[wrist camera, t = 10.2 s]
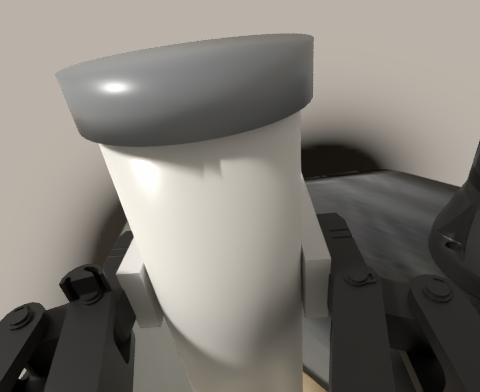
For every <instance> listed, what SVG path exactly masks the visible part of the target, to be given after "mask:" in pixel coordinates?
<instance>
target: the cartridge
mask: <svg viewBox="0 0 480 392" xmlns="http://www.w3.org/2000/svg"><path fill="white" fill-rule="evenodd" d="M313 41H314V38H313V36H310V35H306V34H265V35H250V36H239V37H230V38H220V39H211V40H203V41H196V42H188V43H182V44H175V45H168V46H162V47H155V48H149V49H144V50H138V51H133V52H127V53H122V54H118V55H112V56H108V57H103V58H99V59H95V60H91V61H87V62H83V63H79V64H76V65H73V66H70V67H67V68H64V69H62V70H60V71H58V72H57V73H56V74H55V75H56V77H57V80H58V82H59V85H60V87H61V90H62V92H63V95H64V97H65V99H66V102H67V104H68V107H69V109H70V112H71V114H72V116H73V119H74V121H75V124H76V126H77V129H78V131H79V133H80V134H81V136H83V137H84V138H85V139H87V140H90V141H93V142H96V143H98V144H99V146H100V149H101V151H102V154H103V156H104V159H105V162H106V165H107V167H108V170H109V172H110V175H111V178H112V180H113V183H114V186H115V188H116V191H117V193H118V196H119V199H120V201H121V204H122V207H123V209H124V212H125V214H126V217H127V220H128V222H129V225H130V228H131V230H132V233H133V235H134V238H135V241H136V243H137V246H138V249H139V251H140V254H141V256H142V259H143V262H144V264H145V267H146V270H147V272H148V275H149V277H150V280H151V283H152V285H153V288H154V291H155V293H156V296H157V298H158V301H159V304H160V306H161V309H162V312H163V314H164V317H165V319H166V322H167V325H168V327H169V330H170V333H171V335H172V338H173V340H174V343H175V346H176V348H177V351H178V354H179V356H180V359H181V361H182V364H183V367H184V369H185V372H186V375H187V377H188V380H189V382H190V385H191V388H192V390H193V392H303V347H302V254H301V241H302V238H301V135H300V133H301V128H300V110H301V109H302V108H304V107H305V106H306V105H307V104H308V103H309V102H310V101H311V99H312V97H313Z"/></svg>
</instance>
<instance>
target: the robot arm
mask: <svg viewBox="0 0 480 392" xmlns="http://www.w3.org/2000/svg"><path fill="white" fill-rule="evenodd" d="M301 238H302V241H301V254H302V302H303V307H304V313H305V318H316V317H328V309H329V312H330V316H331V331H330V366H329V392H396V390H395V382H394V375H393V368H392V361H391V353H390V348H393V349H397V350H399V352H400V355H401V357H402V359H403V362H404V364H405V366H406V369H407V371H408V373H409V376H410V378H411V380H412V383H413V385H414V387H415V390H416V392H480V315H479V313H478V312H477V311H476V309H475V308H474V307H473V305H472V304H471V303H470V301H469V300H468V299H467V297H466V296H465V295H464V293H463V292H462V291H461V290H460V289H459V288H458V287H457V286H456V285H455V284H454V283H452V282H451V281H449V280H447V279H445V278H442V277H439V276H436V275H427V274H425V275H420V276H417V277H416V278H414V279H413V280H412V282H411V284H406V283H401V282H395V281H391V280H387V279H384V278H382V277H379V276H378V274H377V273H376V272H375V271H374V270H373V269H372V268H370V267H368V266H367V265H366V264H365V262H364V260H363V258H362V256H361V253H360V251H359V249H358V247H357V245H356V243H355V241H354V239H353V238H352V234H351V232H350V230H349V228H348V226H347V224H346V222H345V220H344V219H343V218H342V217H340V216H339V215H338V214H337V213H327V214H316V213H315V211H314V208H313V205H312V202H311V199H310V196H309V193H308V190H307V188H306V185H305V182H304V179H303V176H302V173H301ZM429 249H430V252H431V255H432V257H433V259H434V261H435V262H436V264H437V265H438V266H439V268H440V269H441V270H442V271H443V272H444V273H445V274H446V275H447V276H448V277H449V278H450V279H451V280H452V281H454V282H455V283H456V284H457V285H459V286H460V287H461V288H463V289H464V290H466V291H467V292H469V293H470V294H472V295H474V296H475V297H477V298H479V299H480V142H479V145H478V148H477V151H476V154H475V157H474V161H473V164H472V167H471V170H470V173H469V177H468V179H467V181H466V182H465V183H464V184H463V186H462V187H461V188H460V189H459V190H458V192H457V193H456V194H455V195H454V196H453V198H452V199H451V200H450V201H449V203H448V204H447V205H446V206H445V207H444V209H443V210H442V211H441V212H440V213H439V215H438V216H437V217H436V219H435V221H434V223H433V226H432V230H431V234H430V237H429ZM59 285H60V287H61V289H62V290H63V292H64V293H65V295H66V297H67V298H68V300H69V302H70V303H67V304H65V305H62V306H59V307H55V308H52V309H50V310H45V308H44V307H43V306H42V305H41V304H40V303H34V302H32V303H28V304H24V305H22V306H20V307H18V308H15V309H14V310H13V311H11V312H10V313H8V314H7V315H6V316H5V317H4V318H3V319H2V320H1V321H0V392H133V375H134V356H135V335H134V332H133V330H132V328H133V325H134V322H135V319H136V320H137V322H138V324H139V326H140V328H151V327H161V324H162V321H163V317H164V314H163V312H162V309H161V306H160V304H159V301H158V298H157V296H156V293H155V291H154V288H153V285H152V283H151V280H150V277H149V275H148V272H147V270H146V267H145V264H144V262H143V259H142V256H141V254H140V251H139V249H138V246H137V243H136V241H135V238H134V235H133V233H132V231H126V232H125V233H124V234H123V235H121V236H120V237H119V238H118V239H117V241H116V242H115V244H114V246H113V248H112V250H111V252H110V253H109V255H108V258H107V259H106V261H105V262H104V264H103V266H102V267H101V266H100V265H97V264H86V265H82V266H80V267H77V268H75V269H74V270H72V271H70V272H69V273H68V274H67V275H66V276H65V277H64V278H62V280H61V282H60V284H59ZM24 368H25V369H26V370H27V371H26V372H25V374H24V375H23V377H22V378H21V379H18V378H19V376H20V374H21V372H22V371H23V369H24Z"/></svg>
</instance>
